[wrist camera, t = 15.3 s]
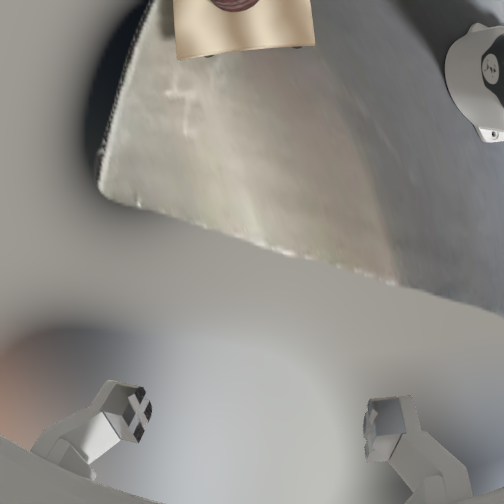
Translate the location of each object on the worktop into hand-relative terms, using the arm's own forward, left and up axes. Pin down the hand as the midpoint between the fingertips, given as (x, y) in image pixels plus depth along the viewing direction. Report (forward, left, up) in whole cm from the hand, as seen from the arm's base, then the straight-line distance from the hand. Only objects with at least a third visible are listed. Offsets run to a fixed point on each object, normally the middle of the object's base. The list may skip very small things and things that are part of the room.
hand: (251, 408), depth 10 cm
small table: (+4, -25, -37) cm, 45 cm away
